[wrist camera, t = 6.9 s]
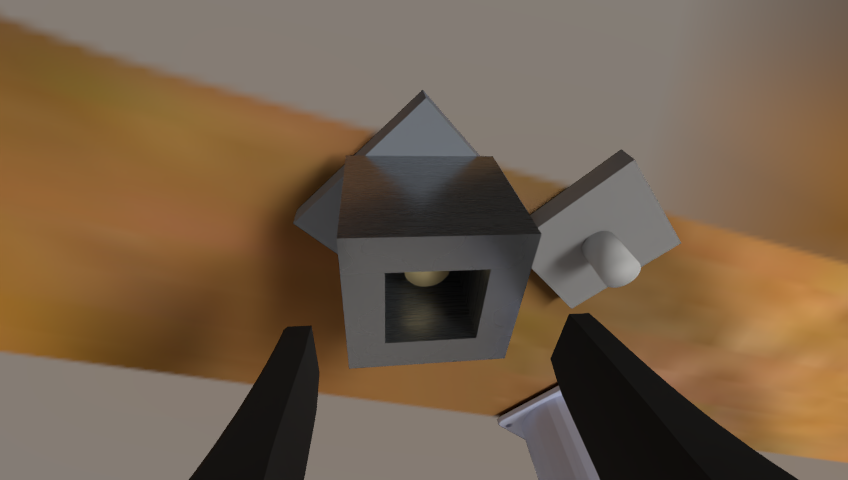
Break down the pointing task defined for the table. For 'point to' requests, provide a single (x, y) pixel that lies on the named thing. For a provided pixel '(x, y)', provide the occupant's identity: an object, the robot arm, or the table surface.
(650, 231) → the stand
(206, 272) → the table surface
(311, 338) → the robot arm
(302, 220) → the hub plate
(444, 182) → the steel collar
